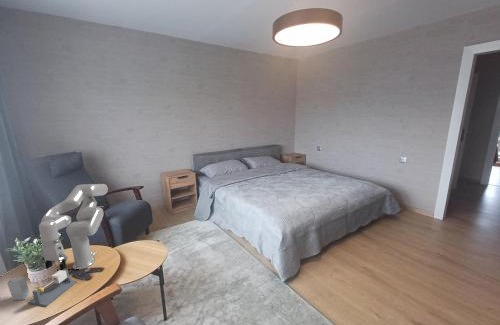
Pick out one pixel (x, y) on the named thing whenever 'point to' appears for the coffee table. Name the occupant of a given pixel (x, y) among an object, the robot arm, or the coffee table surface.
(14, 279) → the skincare box
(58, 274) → the sleeve
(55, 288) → the slide rail
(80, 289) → the coffee table surface
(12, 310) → the coffee table surface
